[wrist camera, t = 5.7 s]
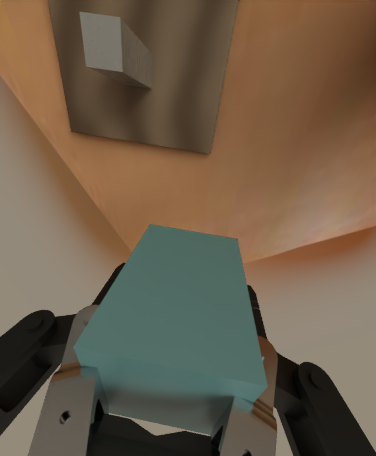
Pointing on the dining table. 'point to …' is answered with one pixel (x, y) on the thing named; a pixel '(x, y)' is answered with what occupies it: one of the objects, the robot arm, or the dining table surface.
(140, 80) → the post
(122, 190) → the dining table surface
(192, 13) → the post board
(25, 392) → the robot arm
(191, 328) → the aqua rectangular box
